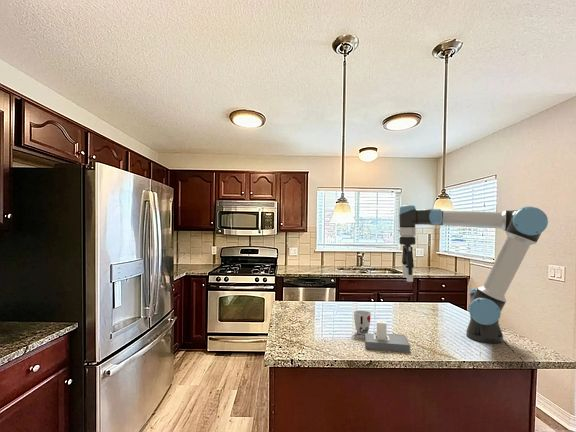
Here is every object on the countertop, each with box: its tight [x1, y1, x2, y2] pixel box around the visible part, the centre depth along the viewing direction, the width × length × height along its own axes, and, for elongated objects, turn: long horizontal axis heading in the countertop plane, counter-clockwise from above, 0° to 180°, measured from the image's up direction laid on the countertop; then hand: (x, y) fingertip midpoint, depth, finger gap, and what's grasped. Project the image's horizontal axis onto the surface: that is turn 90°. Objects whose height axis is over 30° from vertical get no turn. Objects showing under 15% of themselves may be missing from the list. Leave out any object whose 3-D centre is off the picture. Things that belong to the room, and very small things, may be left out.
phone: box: [374, 332, 406, 336], centre depth 157 cm, size 14×7×1 cm, turn 80°
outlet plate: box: [364, 332, 411, 353], centre depth 146 cm, size 18×12×3 cm, turn 79°
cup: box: [353, 310, 372, 336], centre depth 163 cm, size 8×8×10 cm
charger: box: [376, 320, 387, 339], centre depth 147 cm, size 4×4×10 cm
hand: (407, 279), depth 163 cm, fingers open, 13 cm apart
